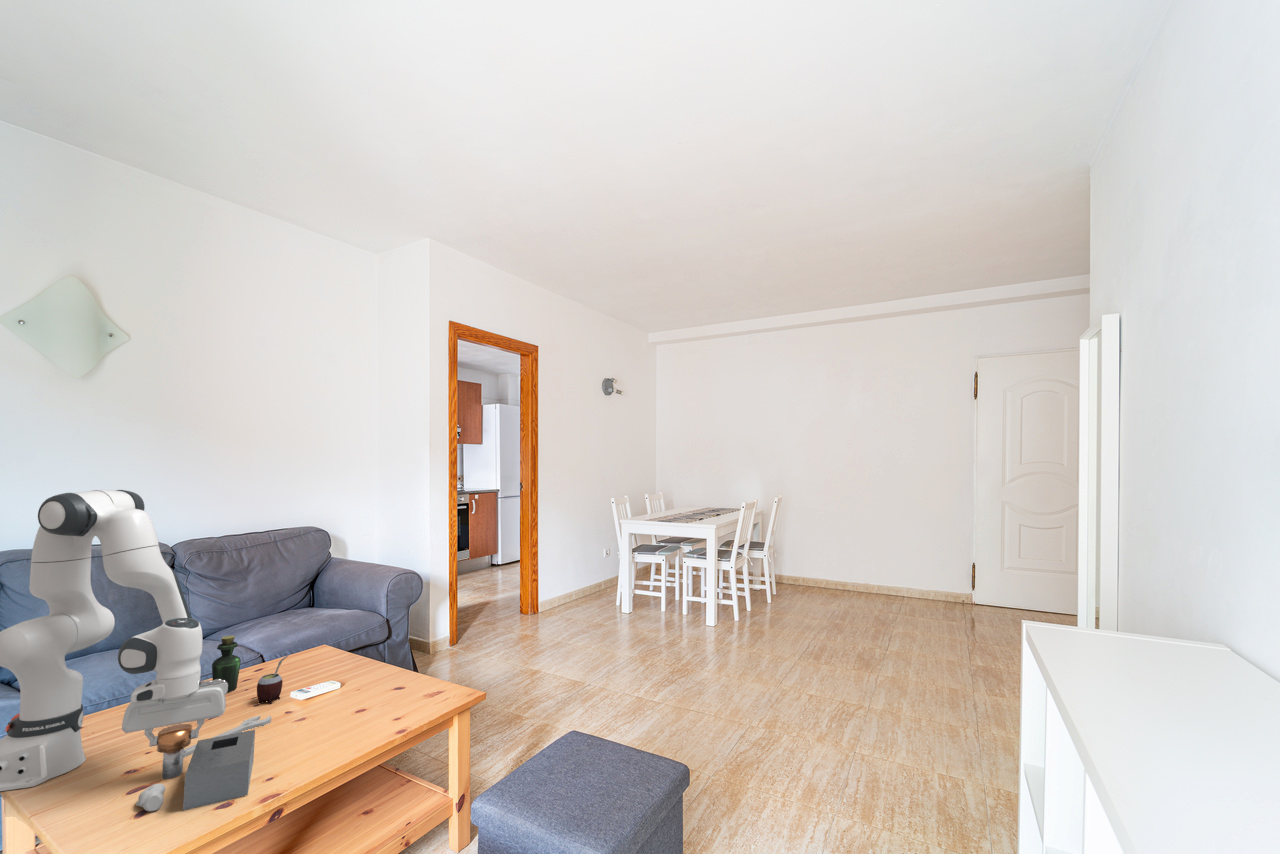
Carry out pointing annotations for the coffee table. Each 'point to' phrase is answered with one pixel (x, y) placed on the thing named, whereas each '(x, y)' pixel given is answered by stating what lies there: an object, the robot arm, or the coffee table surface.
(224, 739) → the block
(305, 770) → the coffee table surface
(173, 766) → the pin
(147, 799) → the mannequin head
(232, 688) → the potion bottle
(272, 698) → the mate gourd
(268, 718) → the adjustable wrench
